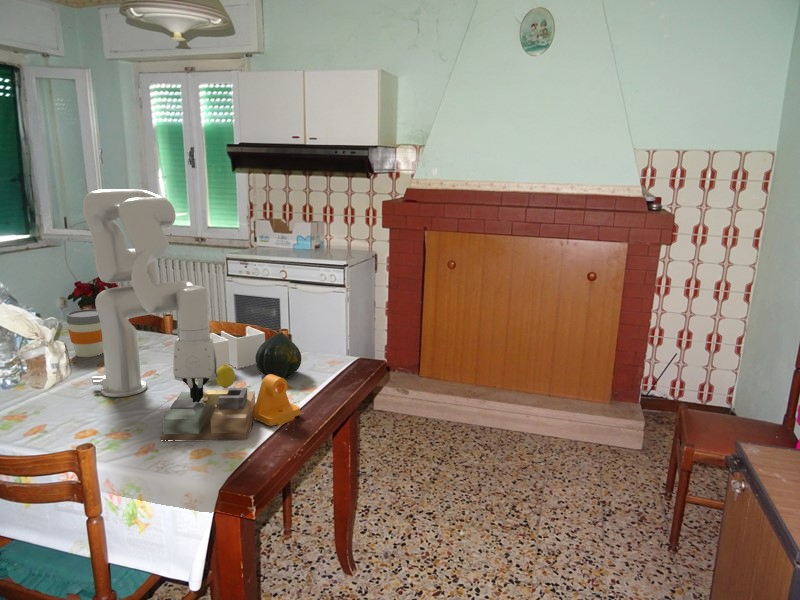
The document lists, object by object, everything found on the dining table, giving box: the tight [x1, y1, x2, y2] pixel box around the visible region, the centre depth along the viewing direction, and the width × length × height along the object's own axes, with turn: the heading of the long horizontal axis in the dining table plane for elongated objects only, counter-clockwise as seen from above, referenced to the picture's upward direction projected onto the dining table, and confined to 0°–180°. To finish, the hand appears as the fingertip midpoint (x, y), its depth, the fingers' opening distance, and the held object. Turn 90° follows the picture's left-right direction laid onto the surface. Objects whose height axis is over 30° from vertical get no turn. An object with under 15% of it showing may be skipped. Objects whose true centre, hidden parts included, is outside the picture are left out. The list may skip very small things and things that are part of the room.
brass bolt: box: [202, 389, 229, 405], centre depth 148 cm, size 6×5×3 cm
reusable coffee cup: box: [66, 308, 104, 358], centre depth 201 cm, size 12×12×15 cm
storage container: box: [209, 326, 266, 372], centre depth 194 cm, size 25×11×11 cm, turn 135°
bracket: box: [254, 374, 301, 427], centre depth 154 cm, size 11×7×12 cm, turn 141°
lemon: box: [215, 364, 236, 389], centre depth 174 cm, size 6×6×8 cm
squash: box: [255, 331, 302, 379], centre depth 187 cm, size 14×15×15 cm
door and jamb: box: [159, 387, 256, 442], centre depth 150 cm, size 21×20×9 cm
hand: (197, 400), depth 149 cm, fingers closed
